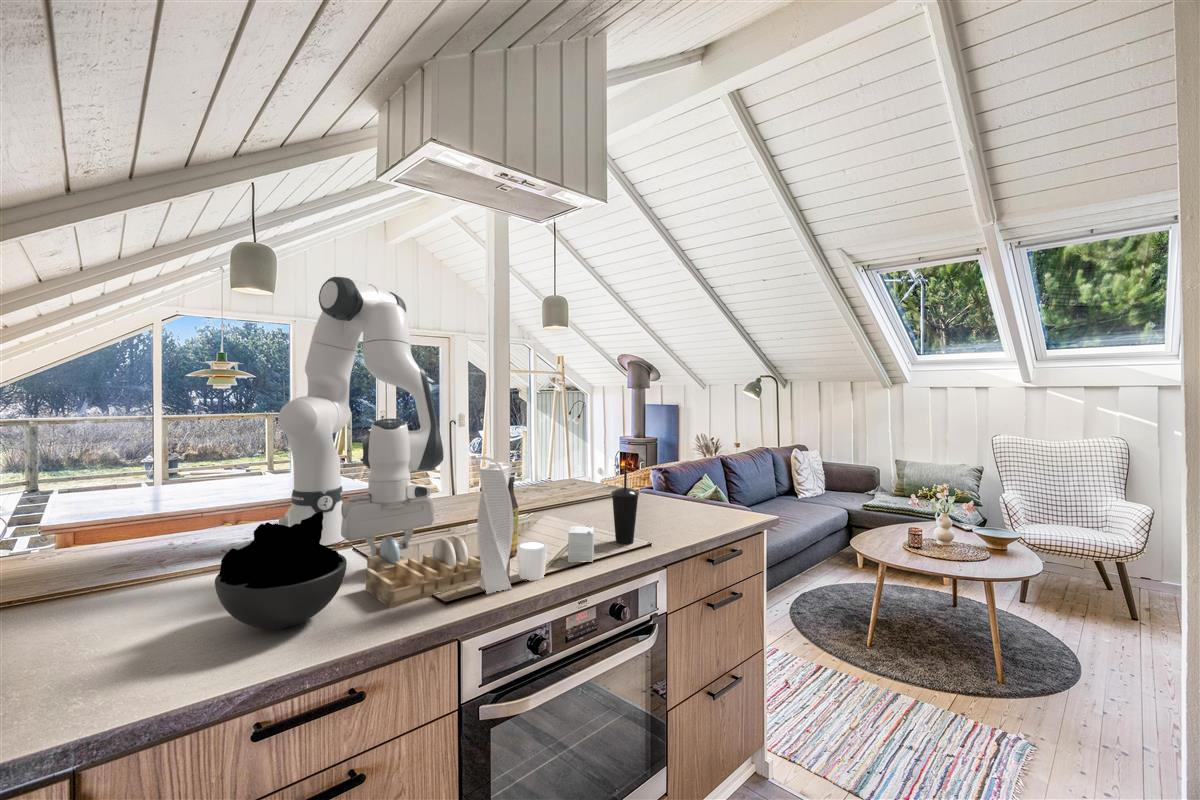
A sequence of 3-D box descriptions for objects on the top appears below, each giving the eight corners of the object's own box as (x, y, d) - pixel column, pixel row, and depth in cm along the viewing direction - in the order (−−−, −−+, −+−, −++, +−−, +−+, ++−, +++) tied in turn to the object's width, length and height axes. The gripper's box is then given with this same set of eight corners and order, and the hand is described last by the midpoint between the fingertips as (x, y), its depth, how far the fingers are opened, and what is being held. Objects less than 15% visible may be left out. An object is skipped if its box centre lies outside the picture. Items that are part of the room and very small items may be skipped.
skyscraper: (481, 597, 107) (482, 459, 106) (469, 585, 113) (470, 454, 112) (518, 589, 111) (519, 456, 110) (505, 578, 117) (505, 452, 116)
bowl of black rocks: (215, 665, 81) (214, 542, 80) (215, 617, 97) (213, 514, 96) (357, 630, 92) (357, 523, 92) (336, 592, 108) (335, 501, 108)
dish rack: (365, 590, 110) (365, 547, 110) (452, 567, 124) (453, 528, 124) (390, 608, 101) (390, 561, 101) (481, 581, 116) (481, 540, 115)
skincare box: (570, 554, 134) (570, 525, 134) (594, 555, 134) (594, 526, 134) (567, 562, 128) (568, 532, 128) (592, 563, 128) (593, 533, 128)
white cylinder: (510, 576, 119) (510, 545, 119) (533, 568, 124) (534, 538, 124) (529, 584, 114) (530, 552, 114) (553, 576, 119) (553, 545, 119)
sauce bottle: (512, 560, 129) (513, 479, 129) (488, 558, 131) (488, 477, 130) (521, 551, 136) (522, 474, 135) (498, 549, 137) (499, 473, 136)
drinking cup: (620, 536, 150) (621, 465, 150) (643, 541, 146) (644, 468, 145) (605, 542, 144) (605, 469, 144) (628, 548, 140) (629, 472, 139)
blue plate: (379, 566, 123) (380, 533, 122) (384, 565, 124) (385, 532, 123) (394, 578, 117) (395, 542, 117) (399, 576, 118) (400, 541, 117)
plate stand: (367, 568, 122) (367, 556, 122) (392, 562, 126) (392, 551, 126) (386, 581, 115) (386, 568, 115) (412, 574, 119) (412, 562, 119)
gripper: (346, 500, 110) (347, 566, 111) (437, 487, 125) (437, 545, 125) (336, 495, 115) (336, 558, 115) (424, 483, 129) (424, 539, 130)
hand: (389, 551), depth 120 cm, fingers open, 5 cm apart
